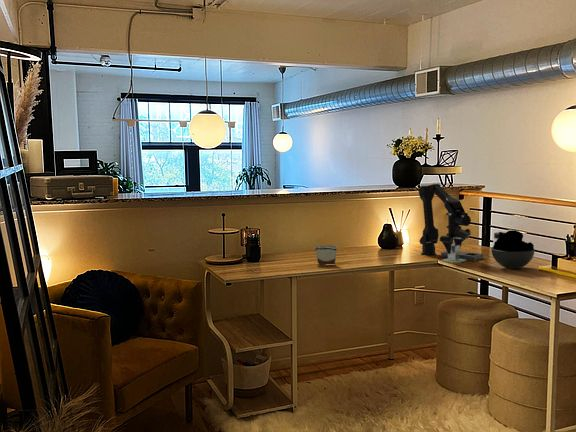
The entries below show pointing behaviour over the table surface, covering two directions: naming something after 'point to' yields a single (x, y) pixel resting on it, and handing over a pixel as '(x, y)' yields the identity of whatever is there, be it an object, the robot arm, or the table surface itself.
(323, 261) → the food container
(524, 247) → the bowl of black rocks
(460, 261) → the mat
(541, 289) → the table surface
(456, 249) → the block
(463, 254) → the rail
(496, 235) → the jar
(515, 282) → the table surface
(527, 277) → the table surface
